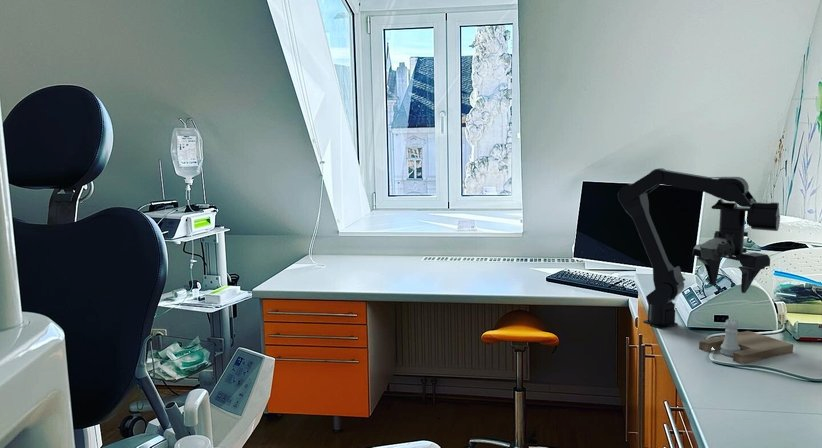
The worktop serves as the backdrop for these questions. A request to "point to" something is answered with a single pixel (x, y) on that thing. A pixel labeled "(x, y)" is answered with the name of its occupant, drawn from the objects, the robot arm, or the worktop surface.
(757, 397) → the worktop surface
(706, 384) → the worktop surface
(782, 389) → the worktop surface
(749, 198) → the robot arm
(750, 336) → the notched board
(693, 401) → the worktop surface
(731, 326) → the rook chess piece
